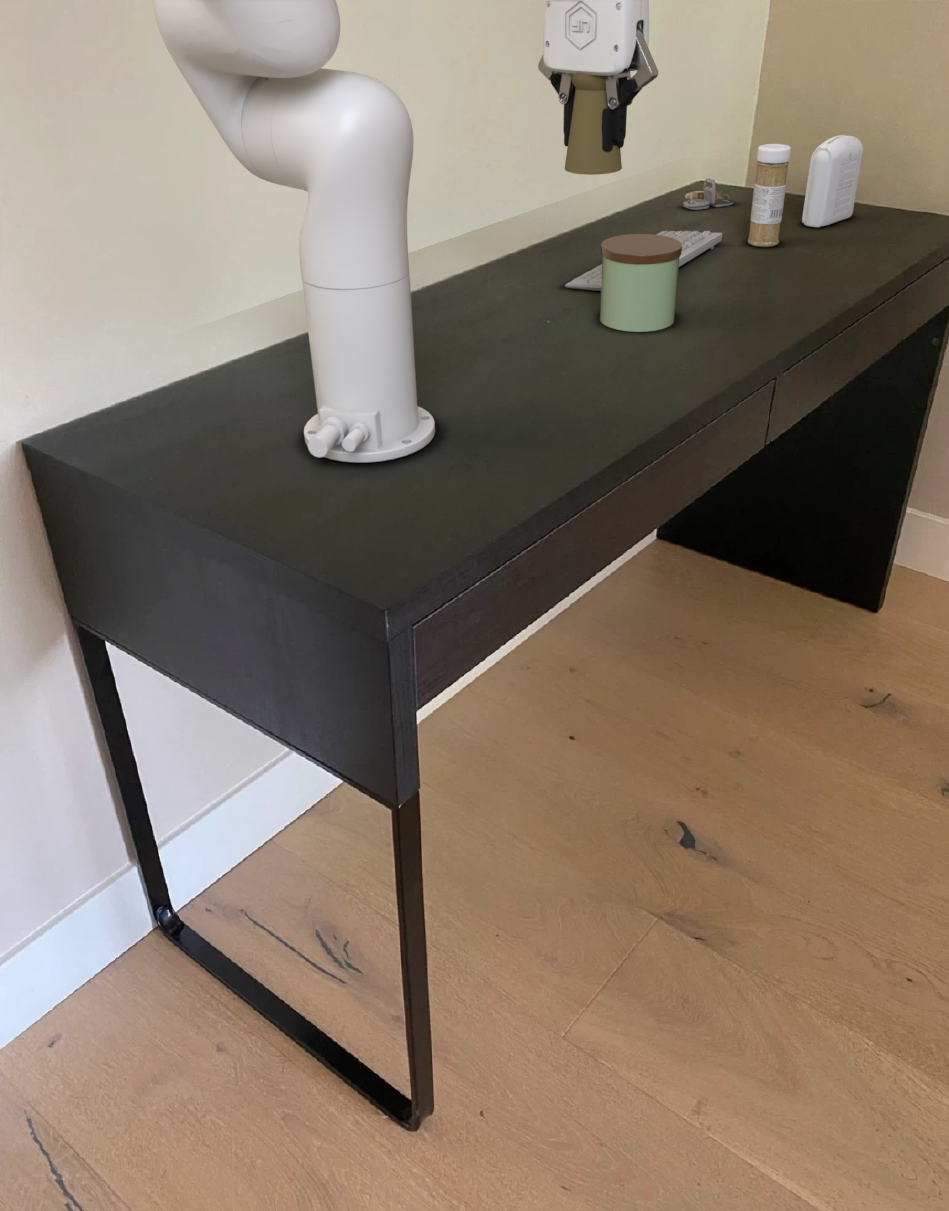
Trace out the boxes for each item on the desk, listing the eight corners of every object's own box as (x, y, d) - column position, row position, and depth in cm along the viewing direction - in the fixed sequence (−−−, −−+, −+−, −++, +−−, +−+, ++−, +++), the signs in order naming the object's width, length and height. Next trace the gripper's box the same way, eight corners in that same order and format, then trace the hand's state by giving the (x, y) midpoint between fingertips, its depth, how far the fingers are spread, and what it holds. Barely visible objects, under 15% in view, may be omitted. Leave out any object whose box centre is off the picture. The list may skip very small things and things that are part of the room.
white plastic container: (831, 212, 167) (844, 129, 160) (856, 217, 164) (870, 132, 157) (796, 225, 161) (808, 139, 154) (821, 230, 158) (835, 142, 152)
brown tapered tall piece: (619, 174, 107) (624, 54, 100) (560, 174, 108) (562, 54, 102) (624, 162, 111) (629, 46, 105) (568, 161, 113) (570, 47, 106)
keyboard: (657, 236, 158) (658, 222, 157) (722, 245, 153) (723, 231, 152) (564, 287, 138) (564, 272, 137) (634, 299, 133) (635, 283, 132)
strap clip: (690, 211, 170) (693, 183, 168) (680, 207, 173) (683, 180, 170) (734, 205, 173) (737, 178, 171) (724, 201, 175) (727, 174, 173)
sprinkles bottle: (770, 238, 155) (782, 141, 148) (784, 246, 151) (797, 147, 144) (741, 241, 154) (752, 143, 147) (755, 249, 151) (766, 149, 143)
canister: (670, 335, 122) (677, 257, 117) (591, 329, 124) (594, 252, 119) (680, 309, 129) (686, 235, 124) (605, 305, 132) (608, 231, 127)
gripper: (506, -59, 100) (508, 144, 111) (653, -61, 91) (641, 162, 101) (553, -63, 105) (551, 133, 115) (698, -65, 96) (682, 148, 106)
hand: (593, 144), depth 108 cm, fingers closed on brown tapered tall piece, 4 cm apart
